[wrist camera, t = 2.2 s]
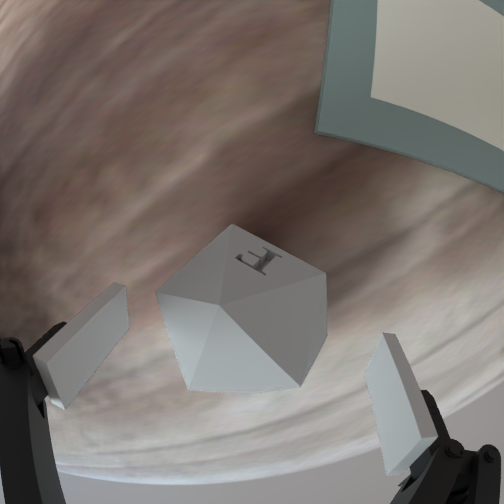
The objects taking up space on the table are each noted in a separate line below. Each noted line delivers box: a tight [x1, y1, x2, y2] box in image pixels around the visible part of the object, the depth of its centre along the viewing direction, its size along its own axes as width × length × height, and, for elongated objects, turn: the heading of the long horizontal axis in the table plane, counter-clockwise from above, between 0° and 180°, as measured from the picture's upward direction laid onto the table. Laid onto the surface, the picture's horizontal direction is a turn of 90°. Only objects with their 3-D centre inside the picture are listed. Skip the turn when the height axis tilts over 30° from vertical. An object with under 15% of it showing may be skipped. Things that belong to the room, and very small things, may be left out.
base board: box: [314, 0, 504, 193], centre depth 12 cm, size 16×16×2 cm
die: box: [155, 224, 327, 393], centre depth 16 cm, size 8×9×10 cm
